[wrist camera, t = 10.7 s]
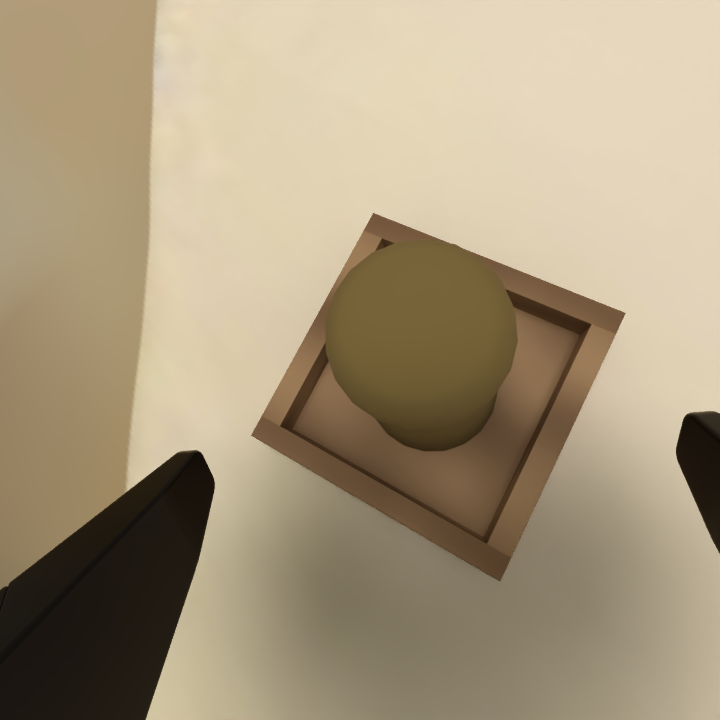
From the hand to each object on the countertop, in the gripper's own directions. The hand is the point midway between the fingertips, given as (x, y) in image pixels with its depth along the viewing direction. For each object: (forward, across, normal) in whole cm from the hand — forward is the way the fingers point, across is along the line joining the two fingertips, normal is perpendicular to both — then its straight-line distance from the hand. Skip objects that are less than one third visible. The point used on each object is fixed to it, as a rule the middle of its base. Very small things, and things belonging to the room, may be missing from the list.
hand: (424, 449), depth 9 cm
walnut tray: (+12, 0, +7) cm, 14 cm away
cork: (+11, 0, +7) cm, 13 cm away
